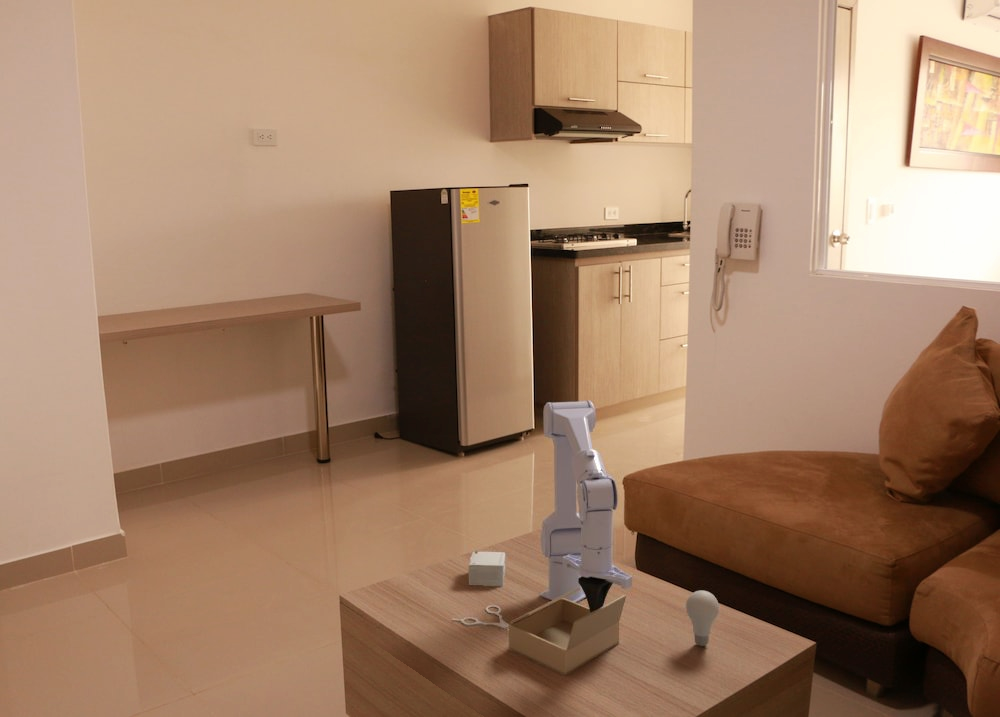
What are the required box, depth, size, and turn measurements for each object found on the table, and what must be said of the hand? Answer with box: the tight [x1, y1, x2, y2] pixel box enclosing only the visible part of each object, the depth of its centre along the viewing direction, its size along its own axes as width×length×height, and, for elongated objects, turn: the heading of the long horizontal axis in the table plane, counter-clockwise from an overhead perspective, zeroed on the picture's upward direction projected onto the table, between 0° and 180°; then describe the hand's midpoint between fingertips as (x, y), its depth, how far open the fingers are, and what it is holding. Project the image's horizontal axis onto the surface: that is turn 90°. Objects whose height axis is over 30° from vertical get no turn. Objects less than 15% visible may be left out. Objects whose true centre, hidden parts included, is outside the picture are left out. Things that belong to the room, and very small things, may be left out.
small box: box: [468, 551, 506, 587], centre depth 202 cm, size 8×8×5 cm
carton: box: [508, 598, 620, 677], centre depth 171 cm, size 16×14×5 cm
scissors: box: [451, 604, 510, 632], centre depth 180 cm, size 11×1×20 cm
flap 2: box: [567, 593, 627, 650], centre depth 165 cm, size 15×6×1 cm
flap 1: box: [509, 588, 580, 625], centre depth 174 cm, size 15×6×1 cm
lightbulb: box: [685, 589, 720, 648], centre depth 170 cm, size 6×6×11 cm
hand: (596, 613), depth 165 cm, fingers closed
